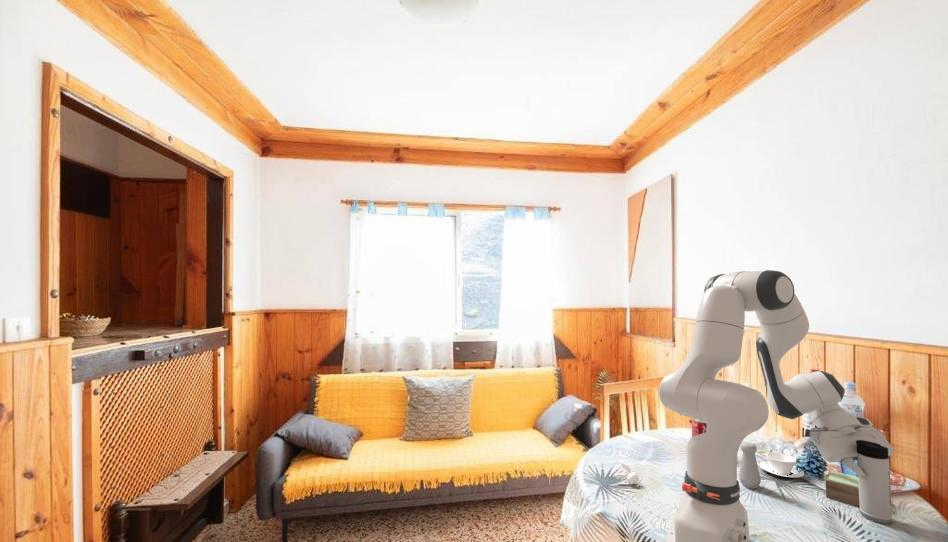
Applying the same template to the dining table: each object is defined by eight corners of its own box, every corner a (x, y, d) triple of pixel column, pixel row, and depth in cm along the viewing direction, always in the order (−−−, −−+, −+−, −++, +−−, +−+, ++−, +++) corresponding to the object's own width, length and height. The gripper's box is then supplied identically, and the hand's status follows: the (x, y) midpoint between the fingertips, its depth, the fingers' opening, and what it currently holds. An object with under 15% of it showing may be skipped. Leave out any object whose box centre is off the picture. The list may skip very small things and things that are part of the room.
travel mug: (852, 510, 114) (848, 437, 115) (878, 511, 113) (874, 438, 114) (871, 523, 108) (867, 446, 108) (899, 524, 107) (895, 446, 108)
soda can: (716, 452, 154) (715, 419, 155) (710, 457, 150) (709, 424, 150) (696, 447, 160) (695, 415, 160) (689, 452, 155) (688, 420, 155)
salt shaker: (764, 491, 125) (763, 447, 126) (743, 489, 126) (742, 446, 127) (755, 482, 131) (754, 440, 131) (735, 480, 132) (734, 439, 132)
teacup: (763, 462, 146) (762, 447, 146) (806, 472, 137) (805, 456, 137) (756, 473, 137) (755, 457, 137) (802, 485, 129) (801, 468, 129)
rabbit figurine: (637, 490, 126) (613, 472, 130) (634, 495, 129) (611, 477, 133) (645, 475, 129) (622, 458, 134) (642, 480, 132) (619, 463, 136)
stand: (868, 509, 115) (867, 489, 115) (826, 497, 121) (825, 479, 121) (870, 497, 121) (869, 479, 121) (829, 486, 127) (829, 469, 127)
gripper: (813, 423, 117) (851, 473, 106) (873, 419, 120) (916, 467, 110) (799, 433, 121) (834, 483, 111) (858, 429, 124) (897, 477, 114)
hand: (875, 475), depth 110 cm, fingers closed on travel mug, 6 cm apart
